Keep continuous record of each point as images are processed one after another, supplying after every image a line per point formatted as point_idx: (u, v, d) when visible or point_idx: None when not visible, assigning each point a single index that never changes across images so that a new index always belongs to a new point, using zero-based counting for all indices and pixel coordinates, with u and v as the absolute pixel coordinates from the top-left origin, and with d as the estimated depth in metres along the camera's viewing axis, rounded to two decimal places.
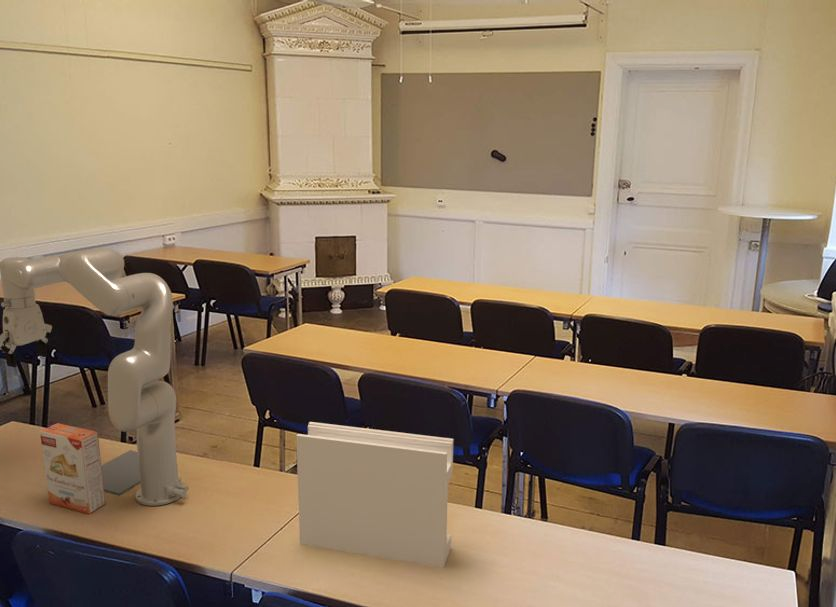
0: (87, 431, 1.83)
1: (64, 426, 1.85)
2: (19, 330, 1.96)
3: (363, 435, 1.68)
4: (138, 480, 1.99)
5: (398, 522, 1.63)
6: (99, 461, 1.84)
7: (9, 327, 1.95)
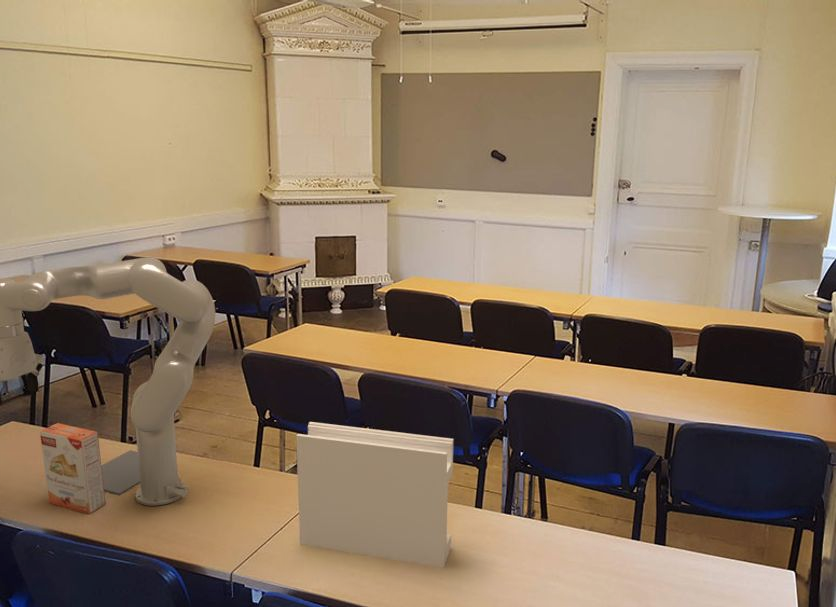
0: (87, 431, 1.83)
1: (64, 426, 1.85)
2: (3, 363, 1.70)
3: (363, 435, 1.68)
4: (138, 480, 1.99)
5: (398, 522, 1.63)
6: (99, 461, 1.84)
7: None
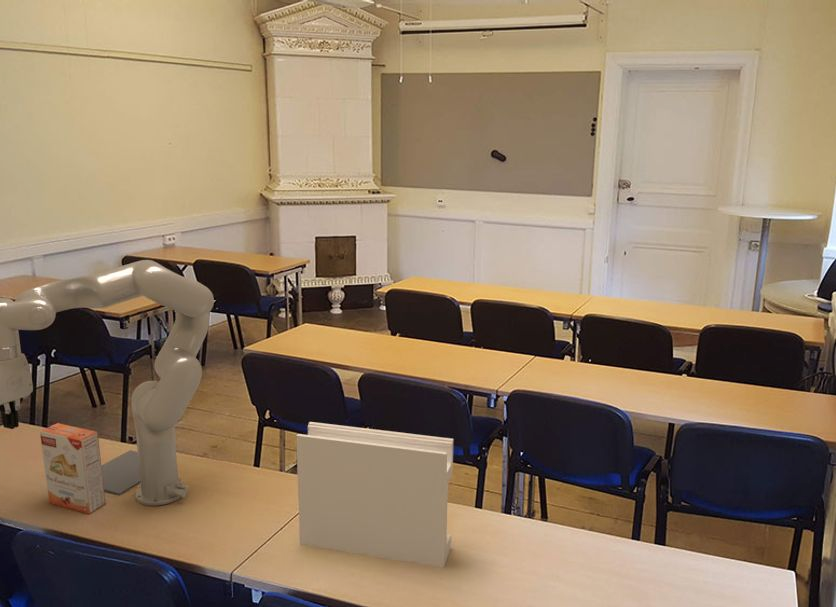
0: (87, 431, 1.83)
1: (64, 426, 1.85)
2: (0, 386, 1.62)
3: (363, 435, 1.68)
4: (138, 480, 1.99)
5: (398, 522, 1.63)
6: (99, 461, 1.84)
7: None
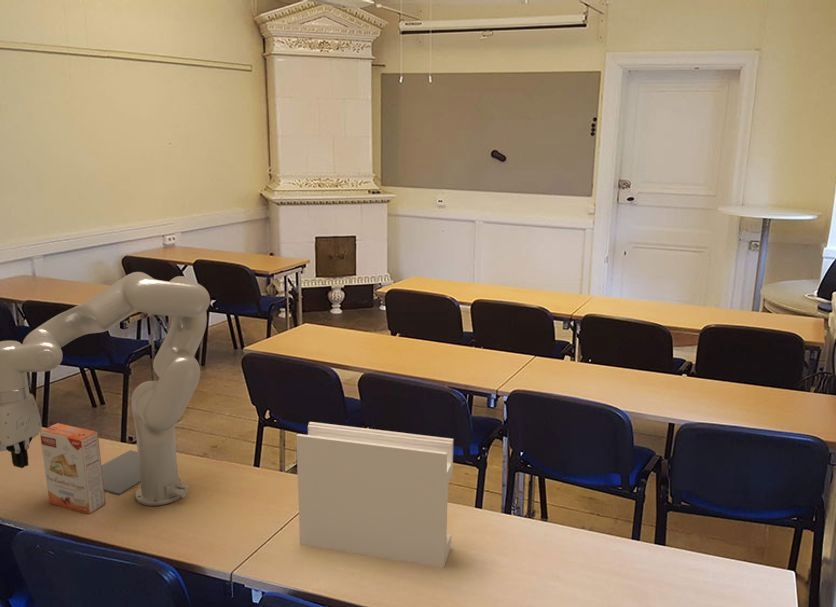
0: (87, 431, 1.83)
1: (64, 426, 1.85)
2: (9, 428, 1.65)
3: (363, 435, 1.68)
4: (138, 480, 1.99)
5: (398, 522, 1.63)
6: (99, 461, 1.84)
7: None
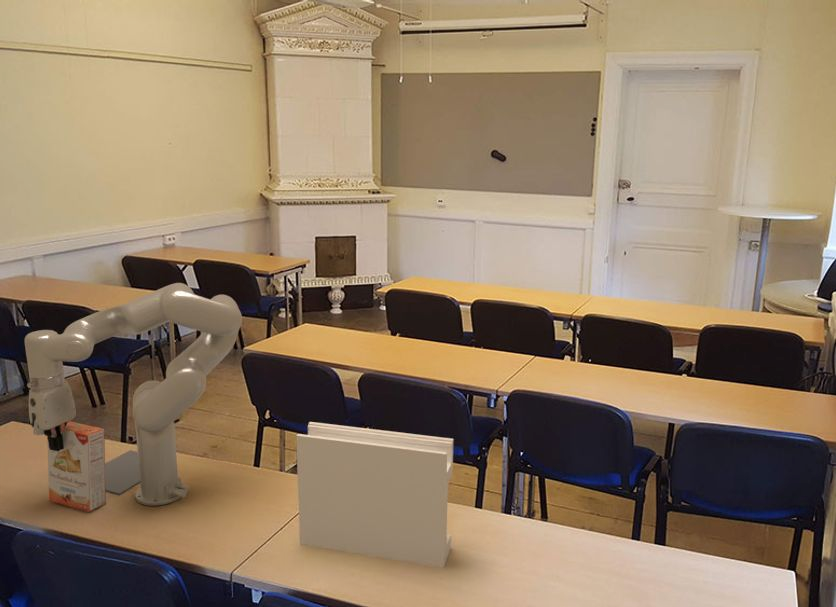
0: (94, 428, 1.85)
1: (71, 423, 1.87)
2: (47, 413, 1.74)
3: (363, 435, 1.68)
4: (138, 480, 1.99)
5: (398, 522, 1.63)
6: (103, 459, 1.85)
7: (36, 410, 1.73)
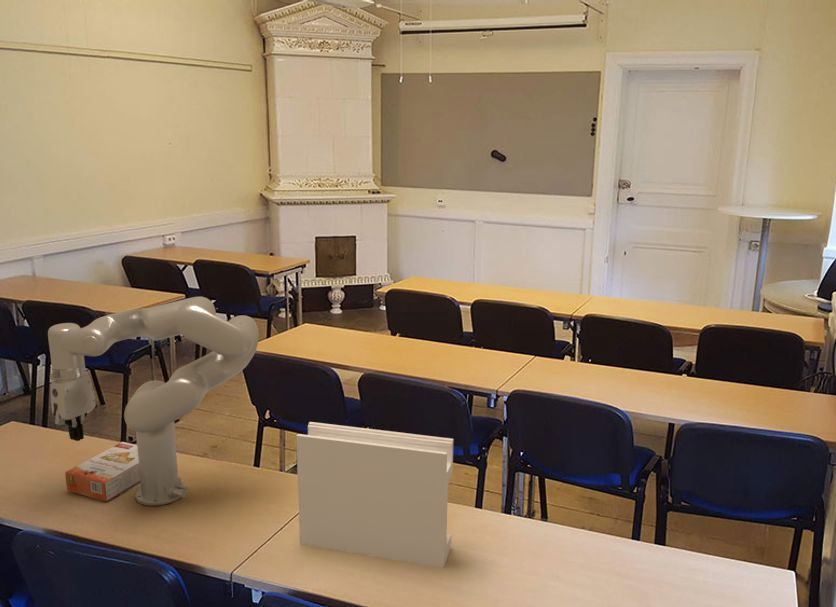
0: None
1: None
2: (68, 403, 1.80)
3: (363, 435, 1.68)
4: None
5: (398, 522, 1.63)
6: None
7: (58, 400, 1.79)
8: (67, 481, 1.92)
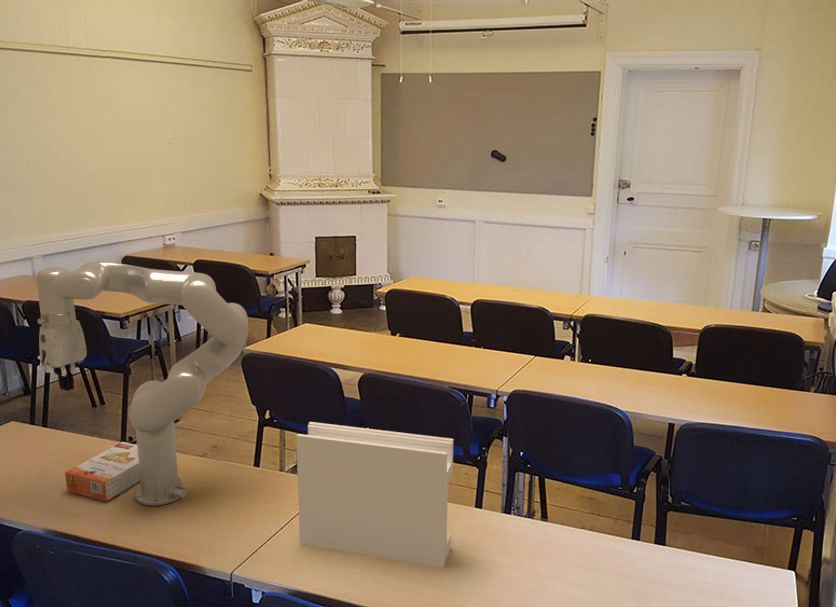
0: None
1: None
2: (57, 350, 1.74)
3: (363, 435, 1.68)
4: None
5: (398, 522, 1.63)
6: None
7: (46, 347, 1.73)
8: (67, 481, 1.92)
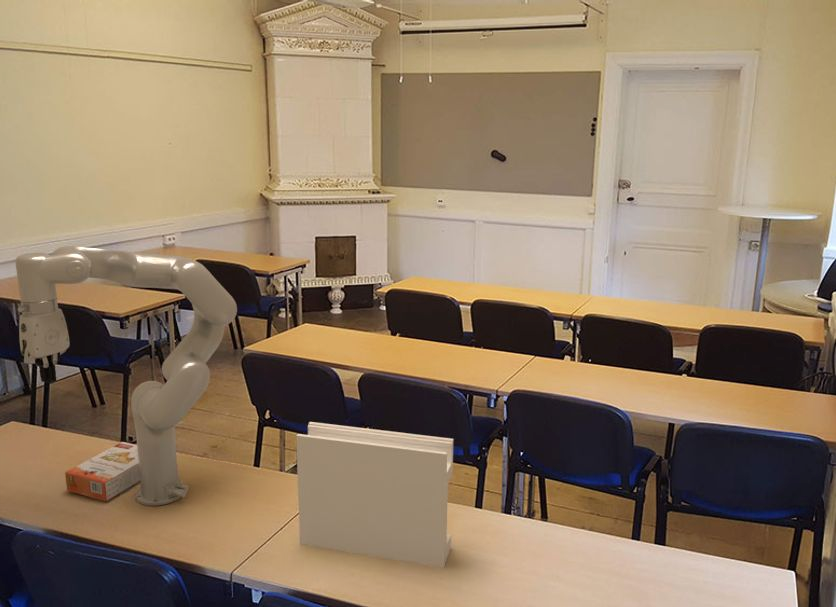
0: None
1: None
2: (38, 340, 1.64)
3: (363, 435, 1.68)
4: None
5: (398, 522, 1.63)
6: None
7: (27, 336, 1.63)
8: (67, 481, 1.92)
